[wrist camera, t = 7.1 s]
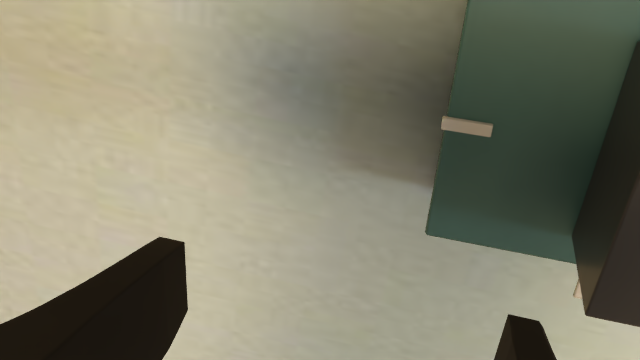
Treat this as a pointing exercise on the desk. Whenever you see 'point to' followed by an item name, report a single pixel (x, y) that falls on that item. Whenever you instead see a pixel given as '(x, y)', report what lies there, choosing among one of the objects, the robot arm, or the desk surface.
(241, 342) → the desk surface
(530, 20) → the panel
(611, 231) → the battery with red terminal
